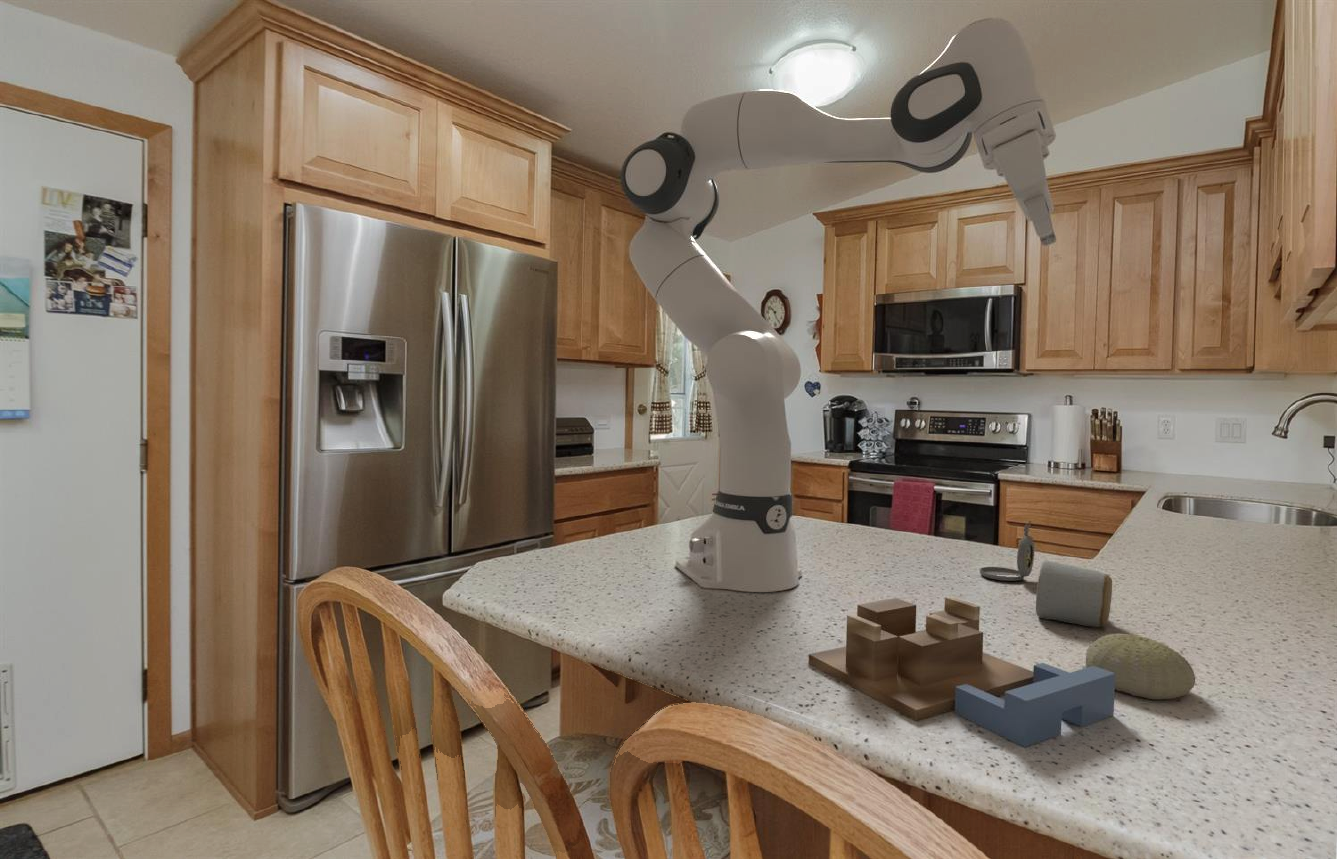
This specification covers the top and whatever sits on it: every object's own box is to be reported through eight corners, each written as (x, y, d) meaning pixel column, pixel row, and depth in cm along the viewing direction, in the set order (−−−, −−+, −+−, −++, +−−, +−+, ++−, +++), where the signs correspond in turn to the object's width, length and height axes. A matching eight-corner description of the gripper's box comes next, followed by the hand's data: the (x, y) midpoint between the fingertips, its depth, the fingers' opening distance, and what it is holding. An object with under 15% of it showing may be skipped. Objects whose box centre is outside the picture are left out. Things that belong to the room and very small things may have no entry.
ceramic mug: (1107, 636, 85) (1110, 575, 85) (1034, 622, 90) (1036, 565, 90) (1112, 616, 94) (1115, 560, 94) (1044, 605, 99) (1047, 552, 98)
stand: (808, 663, 75) (809, 603, 75) (924, 637, 84) (925, 584, 83) (916, 720, 62) (918, 649, 62) (1040, 684, 70) (1042, 620, 70)
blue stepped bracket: (954, 712, 64) (956, 670, 63) (1041, 686, 70) (1043, 648, 70) (1024, 747, 57) (1026, 700, 57) (1113, 715, 64) (1115, 673, 63)
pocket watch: (974, 571, 117) (976, 513, 116) (1026, 574, 115) (1029, 515, 115) (990, 584, 108) (992, 522, 108) (1046, 587, 107) (1049, 524, 107)
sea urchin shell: (1167, 696, 64) (1109, 618, 68) (1105, 728, 69) (1056, 653, 74) (1224, 681, 67) (1166, 608, 72) (1162, 712, 73) (1111, 642, 78)
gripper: (999, 169, 101) (1028, 257, 100) (980, 133, 83) (1014, 239, 83) (1046, 148, 97) (1076, 240, 97) (1036, 106, 80) (1072, 217, 79)
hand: (1047, 239), depth 90 cm, fingers open, 8 cm apart
